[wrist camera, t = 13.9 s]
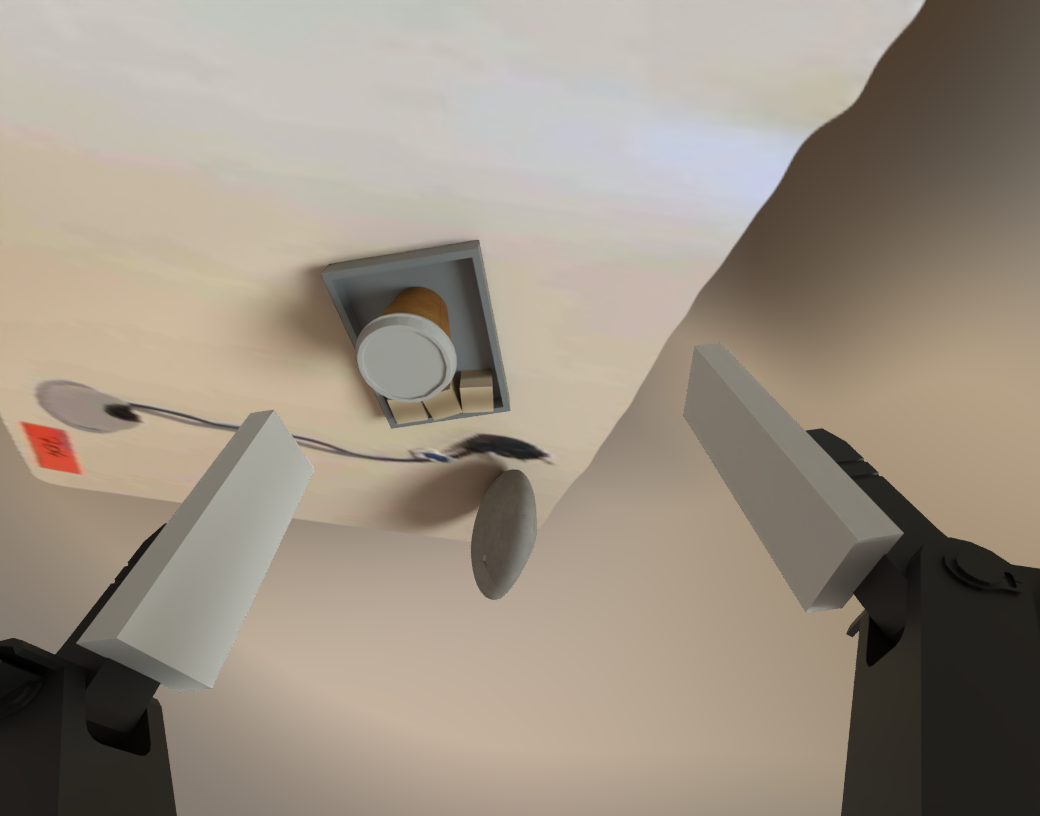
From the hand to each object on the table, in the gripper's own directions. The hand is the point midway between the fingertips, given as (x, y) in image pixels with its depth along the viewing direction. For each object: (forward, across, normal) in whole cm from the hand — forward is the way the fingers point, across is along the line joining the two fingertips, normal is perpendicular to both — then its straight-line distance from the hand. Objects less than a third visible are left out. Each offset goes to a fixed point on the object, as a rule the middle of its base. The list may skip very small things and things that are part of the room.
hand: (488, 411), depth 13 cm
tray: (+35, -10, -14) cm, 39 cm away
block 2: (+34, -10, -22) cm, 42 cm away
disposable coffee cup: (+34, -10, -10) cm, 37 cm away
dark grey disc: (+35, -6, -43) cm, 56 cm away
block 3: (+34, -6, -22) cm, 41 cm away
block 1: (+34, -14, -22) cm, 43 cm away
